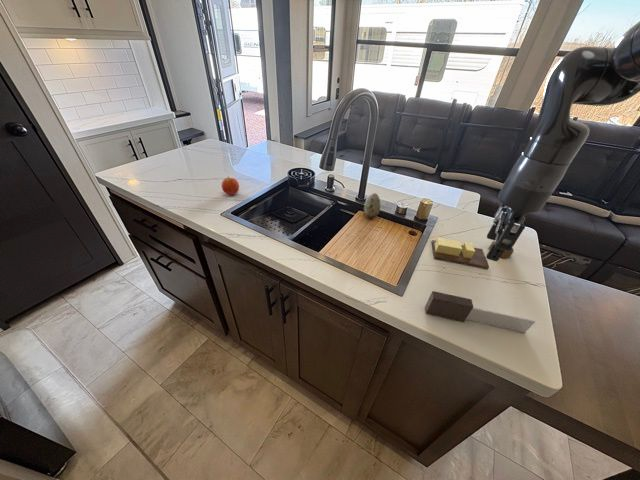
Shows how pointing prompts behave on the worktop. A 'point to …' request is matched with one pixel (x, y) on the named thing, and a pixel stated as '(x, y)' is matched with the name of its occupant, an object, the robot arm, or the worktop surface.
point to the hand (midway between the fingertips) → (491, 248)
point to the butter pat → (468, 250)
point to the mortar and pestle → (506, 253)
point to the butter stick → (448, 246)
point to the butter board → (463, 258)
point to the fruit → (230, 186)
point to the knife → (472, 312)
